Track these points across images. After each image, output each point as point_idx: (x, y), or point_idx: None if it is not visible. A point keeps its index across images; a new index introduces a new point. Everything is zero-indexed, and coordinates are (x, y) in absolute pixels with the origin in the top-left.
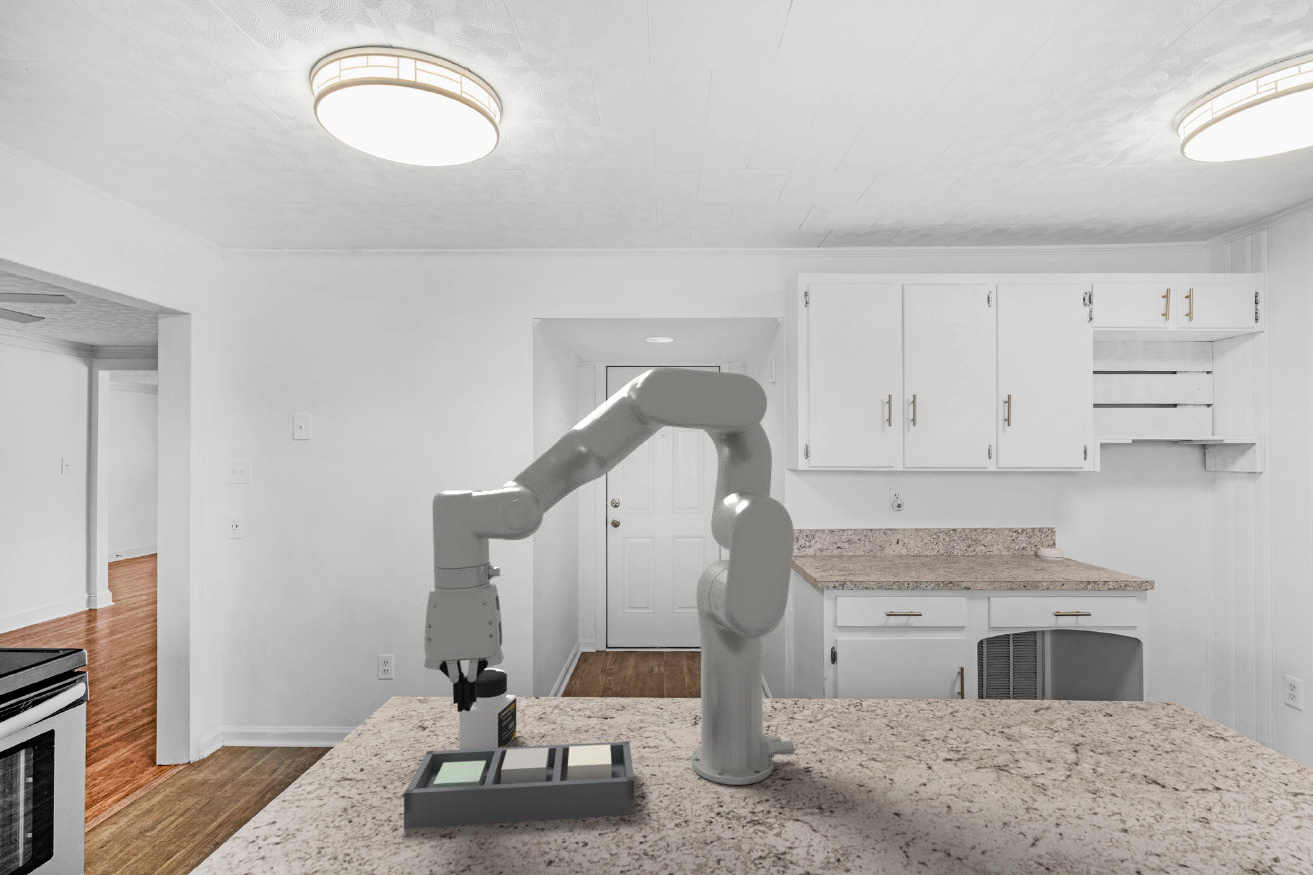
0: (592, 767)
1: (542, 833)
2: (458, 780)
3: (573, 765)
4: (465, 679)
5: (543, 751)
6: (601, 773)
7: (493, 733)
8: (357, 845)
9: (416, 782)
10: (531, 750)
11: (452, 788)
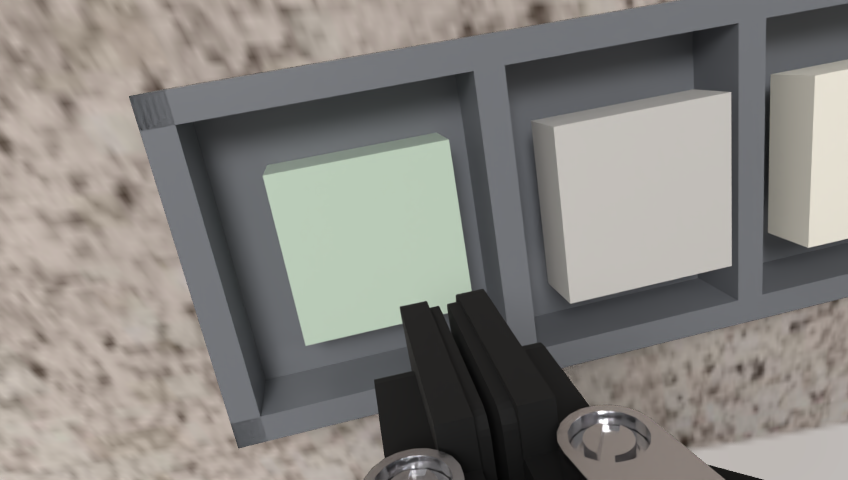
0: None
1: (653, 345)
2: (394, 312)
3: (827, 241)
4: (492, 453)
5: (712, 134)
6: None
7: None
8: (157, 471)
9: (243, 374)
10: (661, 126)
11: None
